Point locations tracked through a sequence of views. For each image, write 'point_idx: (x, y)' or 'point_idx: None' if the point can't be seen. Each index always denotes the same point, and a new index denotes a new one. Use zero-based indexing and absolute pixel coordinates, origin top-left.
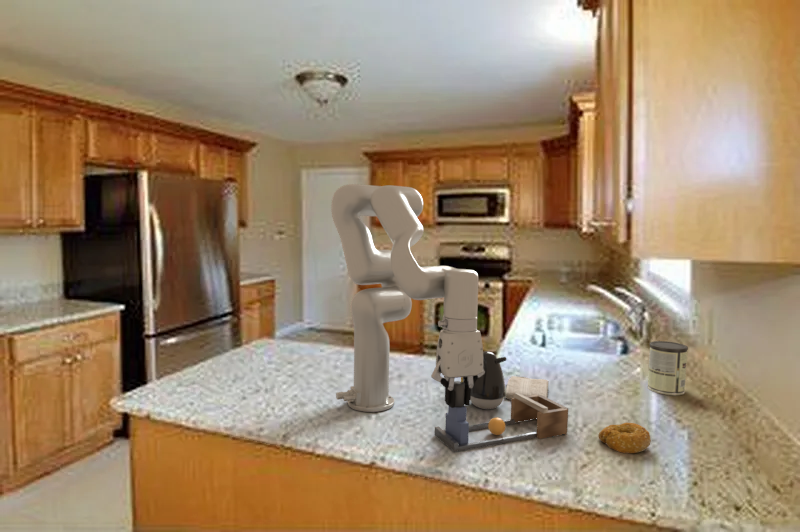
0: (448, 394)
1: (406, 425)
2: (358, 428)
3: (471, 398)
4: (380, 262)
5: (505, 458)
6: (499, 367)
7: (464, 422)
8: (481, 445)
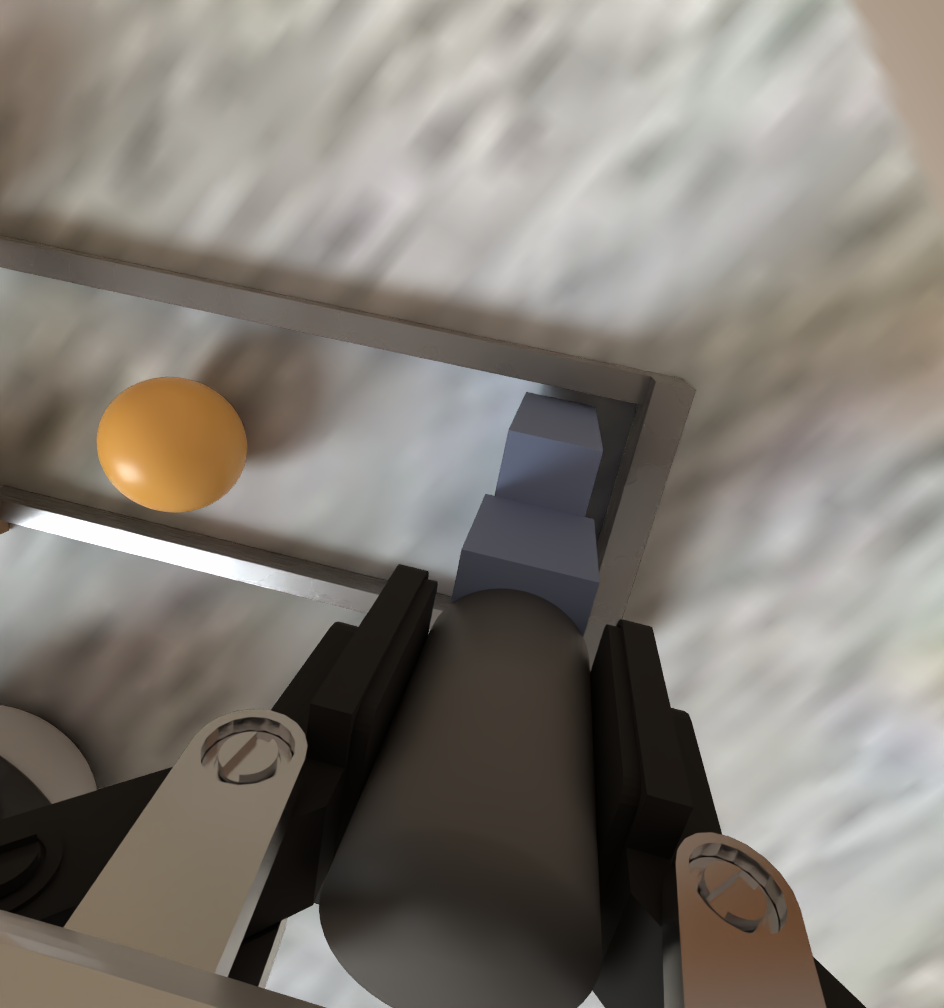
0: (713, 803)
1: None
2: (929, 973)
3: None
4: None
5: (414, 59)
6: None
7: (541, 461)
8: (443, 329)
